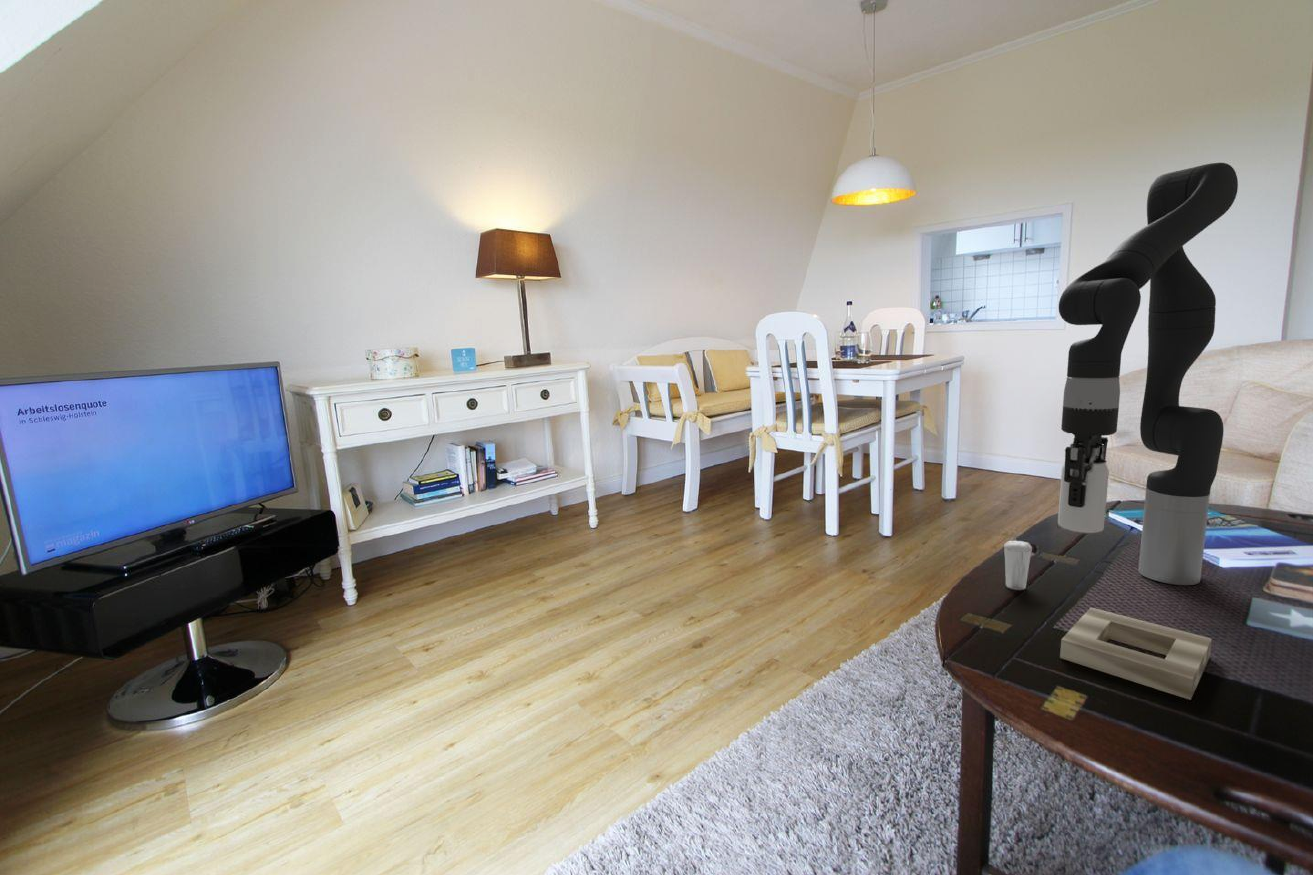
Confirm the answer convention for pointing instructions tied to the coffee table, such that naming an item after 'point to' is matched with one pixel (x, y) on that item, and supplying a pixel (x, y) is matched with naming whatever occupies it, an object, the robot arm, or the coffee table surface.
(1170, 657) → the socket block
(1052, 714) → the coffee table surface
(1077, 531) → the can
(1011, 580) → the milkshake
